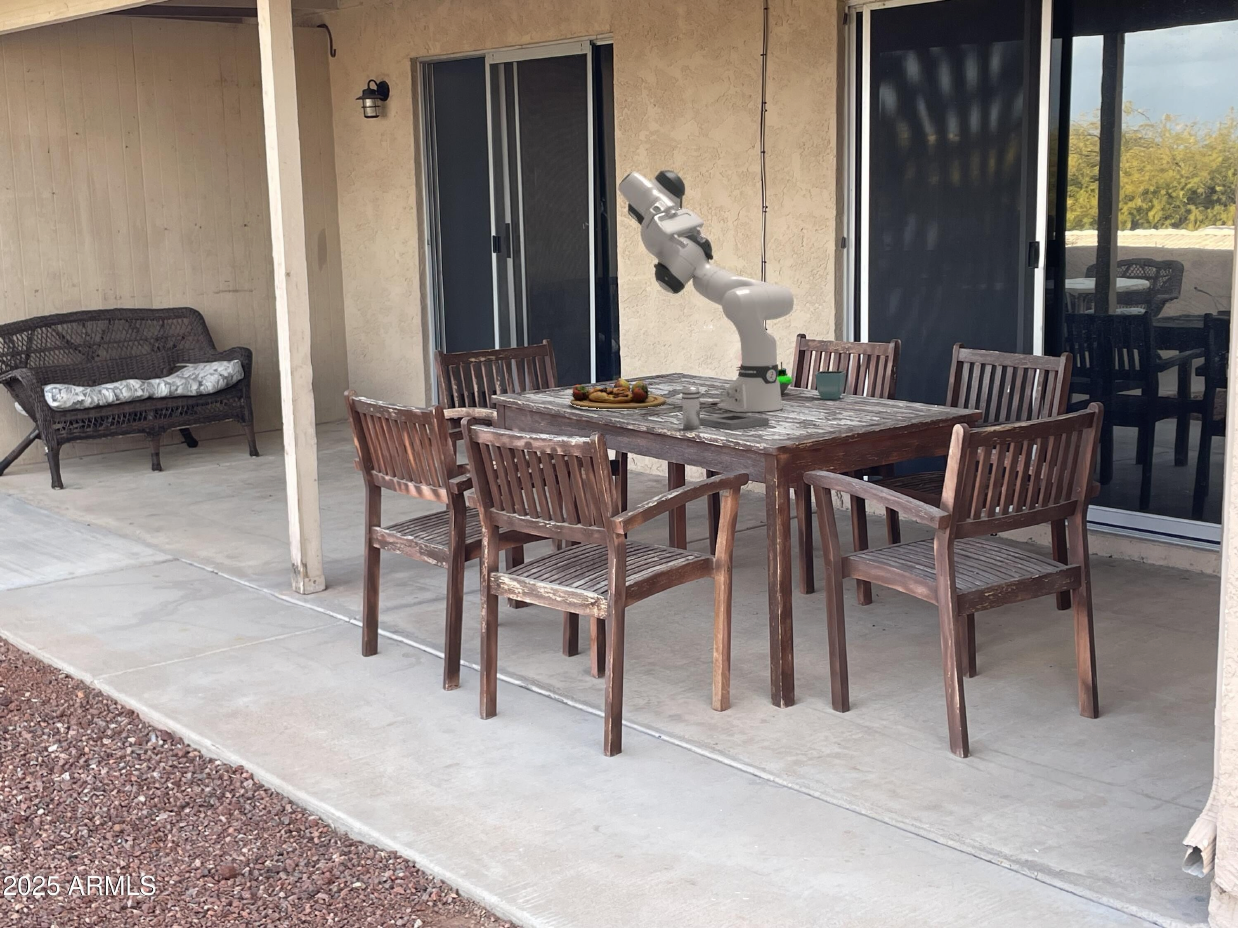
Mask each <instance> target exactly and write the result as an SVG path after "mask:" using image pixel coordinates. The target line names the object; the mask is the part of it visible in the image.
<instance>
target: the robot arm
mask: <svg viewBox="0 0 1238 928" xmlns="http://www.w3.org/2000/svg"><path fill="white" fill-rule="evenodd" d="M657 173H658V174H657V175H656V176H654V178H653V179H652V180H651V181H650V180H649V179H648V178H646V177H645V176H644V175H642V174H641V173H639V172H637V171H635V170H634V171H631V172H629V173H628V174H627V175H626V176H625V177H624V178H623V179H622V180H621V182H620V183H618V188H617V190H618V191H619V193H620V194H621V195H622V197H623V198H624V199H625V200H626V201H627V214H628V215H629V216H630V217H631V218H632V219H633V220H634V221H635V222H637V224H639V225H640V227H641V228H640V233H639V234H640V239H641V242H642V244H643V246H644V248H645V249H646V251H647V252H648V253H649V254H650V255H652V256H653V257H654V258H656V259H657V263H653V268H654V269H655V270H654V278H655V282H657V284H658V285H659V287H660V288H661V290H663V291H665V292H668V293H671V294H675V295H678V294H679V293H681V292H682V291H683V290H684V289H685V288H686V286H687V285H688V283H689V282H691V281H692V287H693V288H694V290H695V291H696V292H697V293H698V294H700V295H701V296H702V297H703V298H705V299H707V300H709V302H712V303H714V304H717V305H718V306H720V307H721V309H722V312H723V315H724V316H725V318H727V319H728V320H729V321H730V322H731V324H732V325H734V327H735V330H736V332H737V335H738V337H739V340H740V350H741V365H740V366H736V371H737V372H738V375H737V377H736V379H735V380H734V381H733V382H731V384H729V385H728V386H727V387H726V389H725V390H724V391H725V392H724V400H723V401H724V402H721V403H717V405H716V408H720V409H723V410H728V411H732V412H735V413H743V412H744V413H745V412H746V413H748V412H751V413H753V412H770V411H771V412H772V411H773V412H774V411H779V410H782V409H783V407H784V406H785V405H784V402H783V401H782V394H781V391H780V383H779V381H778V379H777V376H778V371H779V369H780V368H779V364H778V360H777V359H778V357H777V355H778V354H777V350H778V349H777V340H776V338H775V337H774V335H772V334H771V333H769V332H768V331H767V329H766V327H765V323H764V321H771V320H778V319H781V318H784V317H786V316H788V315H790V314H791V312H792V311H793V309H794V304H795V300H794V295H793V293H792V291H791V289H790V288H788V287H787V286H783V285H779V284H773V283H768V282H766V281H761V280H758V279H754V278H753V279H752V278H749V277H744V276H740V275H738V274H736V273H734V272H731V271H729V270H728V269H727V270H726V269H724V268H721V267H717V266H715V265H714V264H712V263H711V262H710V261H713V260H714V255H713V247H712V243H711V241H710V240H709V239H708V237H707V236H706V235H705V234H704V233H703V231H702V228H703V227H704V224H705V223H704V220H703V219H702V218H701V217H699V216H698V214H696V213H695V212H694V211H692V210H690V209H688V208H683V198H684V196H685V195H686V185H685V182H684V181H683V179H682V177H681V176H680V175H679V174H678V173H676V172H675V171H674V170H670V169H669V170H668V169H667V170H660V171H659V172H657Z"/></svg>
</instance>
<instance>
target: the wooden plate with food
mask: <svg viewBox="0 0 1238 928" xmlns="http://www.w3.org/2000/svg"><path fill="white" fill-rule="evenodd" d="M666 401H667V400H666V398H665V397H663V396H660V395H654V394H649V388H648V386H647V384H646V383H644V382H643V381H642V380H638V381H636V382H634V384H633V385H632V386H630V384H629V382H628V381H626V379H623V378H618V379H617V380H616V382H615V383H614V385H613V387H612V388H608V387H603V388H601V387H593V388H591V389H589V388H588V387H586V386H585V385H581V384H576V385H574V386H573V389H572V399H571V400H570V402H569V403H571V404H572V405H576V406H580V407H588V408H596V409H598V408H599V409H637V408H648V407H655V408H658V406H659V407H662V406H664V405H666V403H667V402H666ZM571 404H570V405H571ZM661 405H662V406H661ZM648 409H649V408H648Z"/></svg>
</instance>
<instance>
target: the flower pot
mask: <svg viewBox="0 0 1238 928" xmlns="http://www.w3.org/2000/svg"><path fill="white" fill-rule="evenodd" d="M846 375H847V371H846V370H820V371H817V372H815V373H814V376H815V384H816V390H817V394H818V395H819V397H820V398H821V400H823V401H825V400H835V401H836V400H839V399H840V398H841V396H842V394H843V392H844V388H845V382H846Z"/></svg>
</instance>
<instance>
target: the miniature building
mask: <svg viewBox="0 0 1238 928" xmlns="http://www.w3.org/2000/svg"><path fill="white" fill-rule="evenodd" d="M777 379H778V381H779V383H780V391H781V395H782V394H784V393H785V391H787V389H788V388H789V387H790V385H791V384H792V381H793V378H792V377H791V376H788V373H787V369H786V368H785V367H783V361H780V368H779V371H778V376H777Z"/></svg>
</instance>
